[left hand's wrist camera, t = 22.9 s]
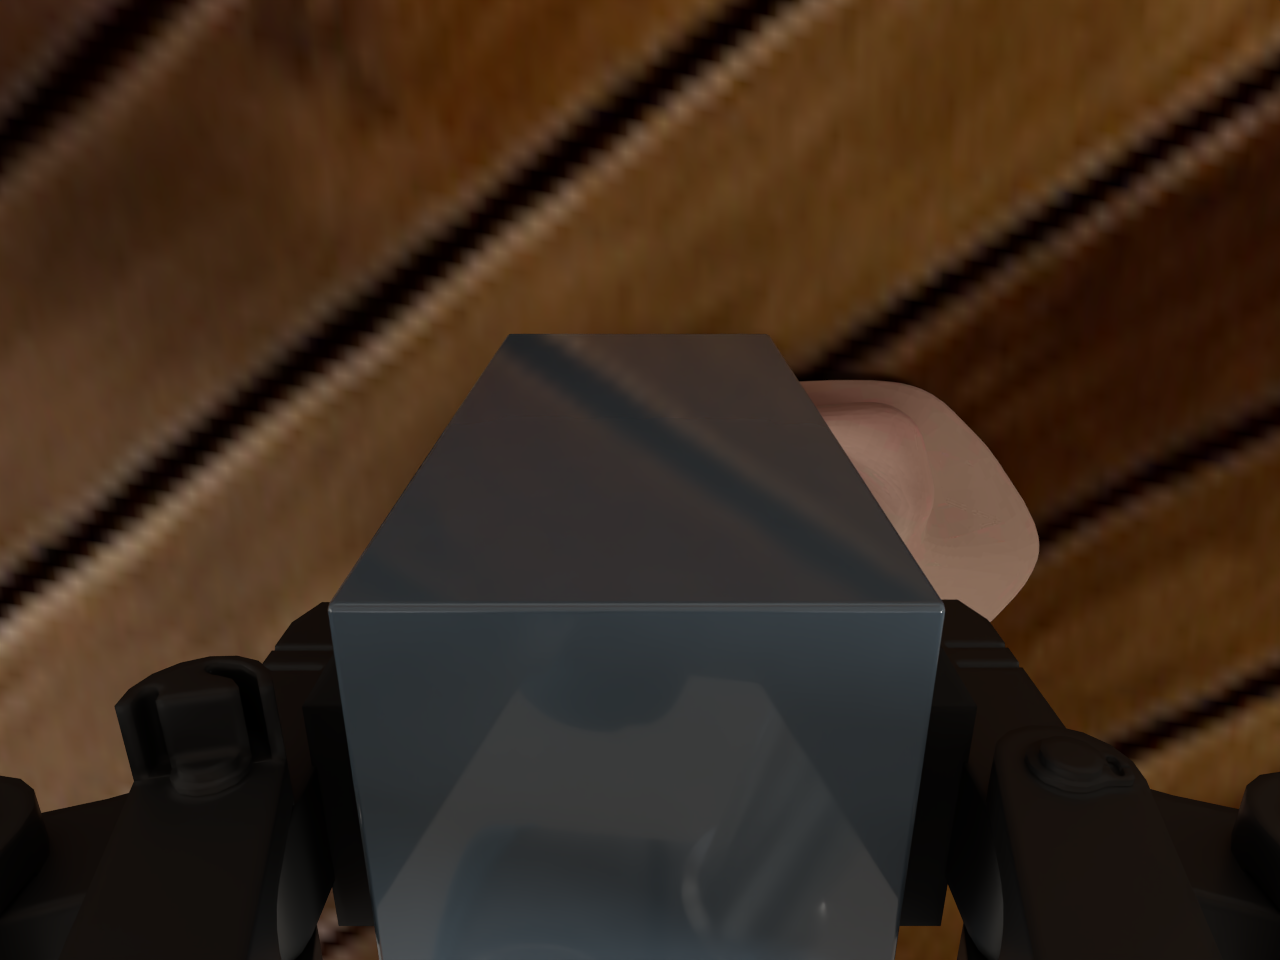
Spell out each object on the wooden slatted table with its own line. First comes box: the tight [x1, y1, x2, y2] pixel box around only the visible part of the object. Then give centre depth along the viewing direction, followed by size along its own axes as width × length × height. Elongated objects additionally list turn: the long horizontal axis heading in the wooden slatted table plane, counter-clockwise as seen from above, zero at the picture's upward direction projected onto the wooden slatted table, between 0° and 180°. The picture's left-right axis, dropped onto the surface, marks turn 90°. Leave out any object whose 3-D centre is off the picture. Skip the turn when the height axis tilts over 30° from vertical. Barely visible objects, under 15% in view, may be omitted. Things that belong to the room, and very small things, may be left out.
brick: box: [328, 334, 945, 960], centre depth 12 cm, size 5×6×10 cm
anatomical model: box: [800, 380, 1039, 622], centre depth 24 cm, size 13×4×12 cm
